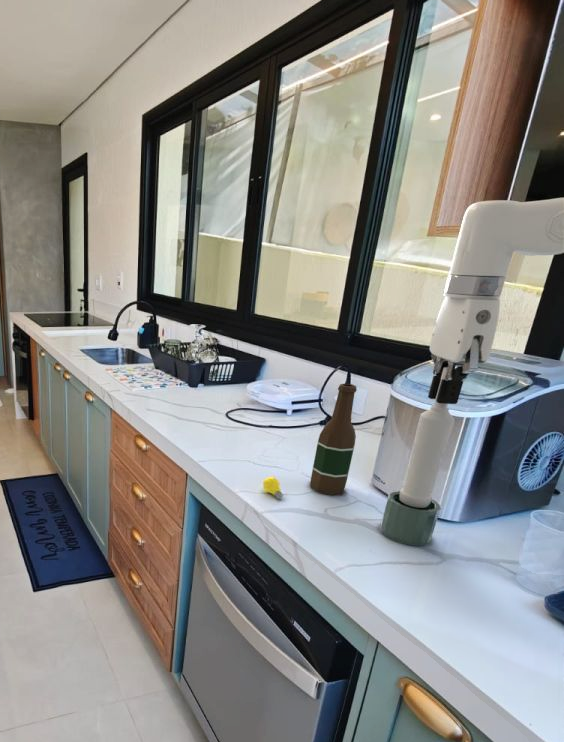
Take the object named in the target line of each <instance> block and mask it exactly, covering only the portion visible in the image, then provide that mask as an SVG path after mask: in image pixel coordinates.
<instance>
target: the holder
mask: <svg viewBox="0 0 564 742" xmlns="http://www.w3.org/2000/svg"><path fill="white" fill-rule="evenodd" d="M440 511H441V504H439V503H438V502H437V501H436V500H435V499H434V498H432V499H431V502H430V504H429V505H428V506H427V507H424V508H417V507H412V506H409V505H406V504H404V503H402V502H401V501H400V490H398V491H392V492H390V493H389V494H388V495H387V500H386V504H385V508H384V512H383V516H382V518H381V523H380V531H381V533H382V534H383V535H384V536H386V537H387V538H389V539H391V540H393V541H395V542H398V543H401V544H403V545H409V546H416V547H417V546H418V547H419V546H426V545H428V544H429V543H430V542H431V540H432V537H433V535H434V531H435V527H436V524H437V521H438V517H439V514H440Z"/></svg>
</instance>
